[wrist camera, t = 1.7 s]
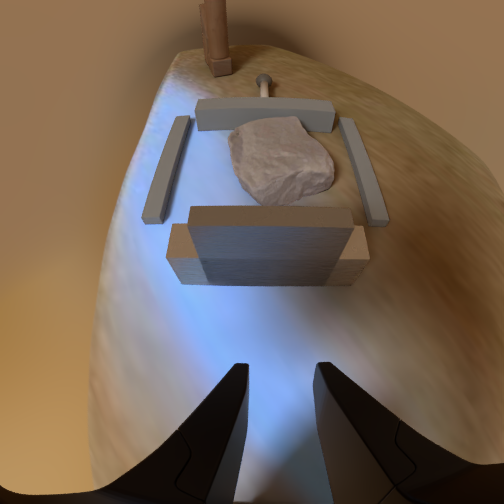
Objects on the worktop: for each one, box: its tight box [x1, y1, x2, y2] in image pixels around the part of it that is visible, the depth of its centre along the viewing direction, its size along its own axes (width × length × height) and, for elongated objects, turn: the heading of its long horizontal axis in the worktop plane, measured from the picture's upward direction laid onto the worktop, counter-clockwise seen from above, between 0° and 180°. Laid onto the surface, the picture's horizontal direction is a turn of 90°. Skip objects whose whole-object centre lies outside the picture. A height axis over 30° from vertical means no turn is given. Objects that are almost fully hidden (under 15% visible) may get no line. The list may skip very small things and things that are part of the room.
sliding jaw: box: [166, 206, 370, 286], centre depth 21 cm, size 3×15×9 cm, turn 89°
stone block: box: [228, 116, 335, 206], centre depth 30 cm, size 12×5×10 cm
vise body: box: [141, 74, 389, 227], centre depth 33 cm, size 29×25×4 cm
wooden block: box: [199, 0, 232, 77], centre depth 39 cm, size 4×11×18 cm, turn 16°
